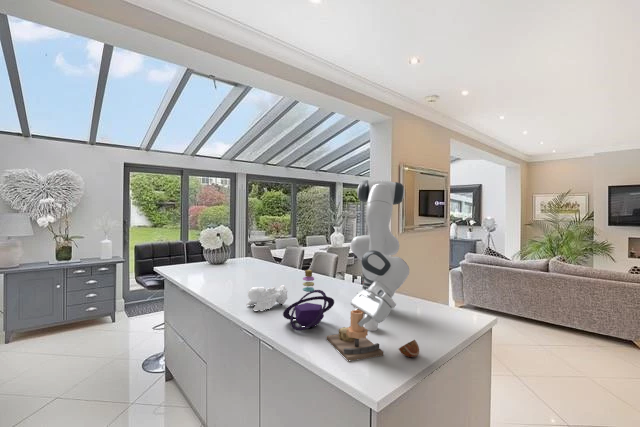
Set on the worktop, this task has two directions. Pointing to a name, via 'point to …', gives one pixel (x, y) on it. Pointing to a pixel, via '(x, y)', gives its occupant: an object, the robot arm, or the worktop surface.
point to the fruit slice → (410, 349)
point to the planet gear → (356, 325)
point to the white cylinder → (371, 325)
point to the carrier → (354, 346)
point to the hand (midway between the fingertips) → (355, 322)
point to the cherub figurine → (266, 297)
